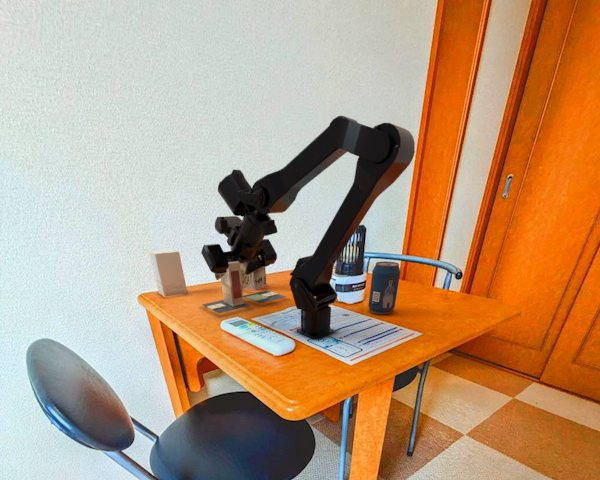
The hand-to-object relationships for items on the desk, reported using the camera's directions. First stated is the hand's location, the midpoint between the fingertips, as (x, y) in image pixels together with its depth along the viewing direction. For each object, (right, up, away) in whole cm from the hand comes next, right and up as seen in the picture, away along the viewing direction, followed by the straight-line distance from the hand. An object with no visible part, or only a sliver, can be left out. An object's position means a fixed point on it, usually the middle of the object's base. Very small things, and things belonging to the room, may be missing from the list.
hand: (231, 275), depth 84 cm
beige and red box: (0, -6, +5) cm, 8 cm away
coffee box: (+2, +4, +21) cm, 22 cm away
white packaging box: (-23, +1, +17) cm, 28 cm away
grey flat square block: (+7, -3, +11) cm, 14 cm away
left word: (-2, -8, +4) cm, 9 cm away
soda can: (+40, -5, -2) cm, 41 cm away
